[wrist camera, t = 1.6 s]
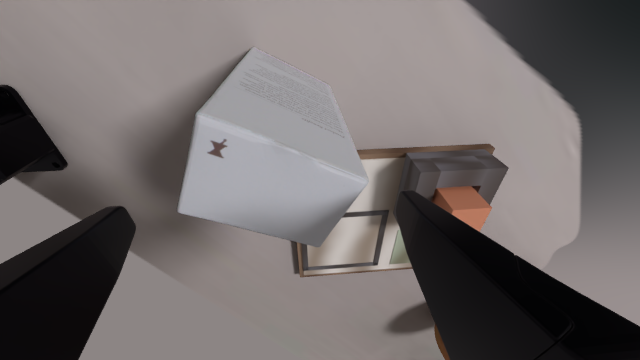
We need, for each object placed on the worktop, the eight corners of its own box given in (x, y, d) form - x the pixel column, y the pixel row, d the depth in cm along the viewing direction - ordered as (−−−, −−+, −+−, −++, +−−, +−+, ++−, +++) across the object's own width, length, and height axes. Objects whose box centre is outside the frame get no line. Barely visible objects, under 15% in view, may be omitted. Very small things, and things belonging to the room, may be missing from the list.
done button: (426, 212, 22) (441, 237, 20) (434, 185, 21) (453, 210, 18) (458, 210, 23) (477, 235, 20) (469, 183, 21) (492, 207, 18)
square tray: (299, 271, 31) (300, 301, 28) (289, 153, 21) (288, 179, 18) (438, 261, 32) (453, 289, 29) (489, 143, 22) (521, 167, 19)
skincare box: (234, 102, 19) (168, 213, 9) (252, 44, 16) (190, 105, 7) (308, 133, 20) (320, 252, 11) (333, 85, 18) (375, 178, 9)
